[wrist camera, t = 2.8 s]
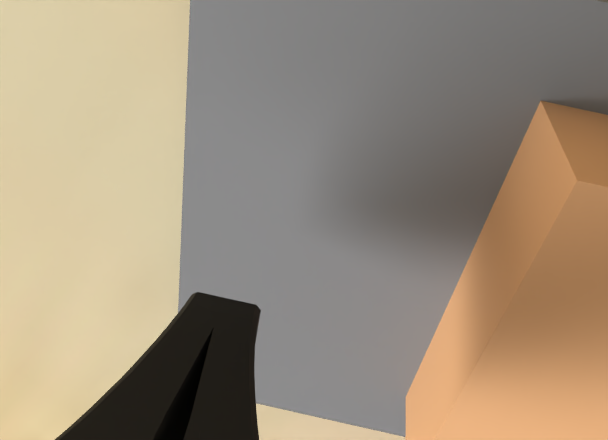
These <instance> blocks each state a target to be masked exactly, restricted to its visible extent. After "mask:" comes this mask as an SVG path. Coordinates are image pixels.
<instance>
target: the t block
mask: <svg viewBox="0 0 608 440" xmlns="http://www.w3.org/2000/svg"><path fill="white" fill-rule="evenodd" d="M406 440H608V115H606V114H601V113H596V112H592V111H587V110H582V109H578V108H573V107H568V106H564V105H559V104H554V103H550V102H545V101H540V103H539V106H538V108H537V110H536V112H535V114H534V116H533V119H532V121H531V123H530V125H529V127H528V130H527V132H526V134H525V136H524V138H523V141H522V143H521V145H520V147H519V149H518V152H517V154H516V156H515V158H514V160H513V163H512V165H511V167H510V169H509V171H508V174H507V176H506V178H505V180H504V182H503V185H502V187H501V189H500V191H499V193H498V195H497V198H496V200H495V202H494V204H493V206H492V209H491V211H490V213H489V215H488V217H487V220H486V222H485V224H484V226H483V228H482V231H481V233H480V235H479V237H478V239H477V242H476V244H475V246H474V248H473V250H472V253H471V255H470V257H469V259H468V261H467V264H466V266H465V268H464V270H463V272H462V275H461V277H460V279H459V281H458V283H457V285H456V288H455V290H454V292H453V294H452V296H451V299H450V301H449V303H448V305H447V307H446V310H445V312H444V314H443V316H442V318H441V321H440V323H439V325H438V327H437V329H436V332H435V334H434V336H433V338H432V340H431V343H430V345H429V347H428V349H427V351H426V354H425V356H424V358H423V360H422V362H421V364H420V367H419V369H418V371H417V373H416V375H415V378H414V380H413V382H412V384H411V386H410V389H409V391H408V393H407V395H406Z"/></svg>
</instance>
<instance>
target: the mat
mask: <svg viewBox="0 0 608 440" xmlns="http://www.w3.org/2000/svg"><path fill="white" fill-rule="evenodd" d="M540 101H545V102H550V103H554V104H559V105H564V106H568V107H573V108H578V109H582V110H587V111H592V112H596V113H601V114H606V115H608V0H190V20H189V46H188V72H187V98H186V124H185V150H184V176H183V202H182V228H181V254H180V280H179V306H178V313H179V311H180V310H181V309H182V307H183V306H184V305H185V303H186V302H187V300H188V299H189V298H190V296H191V295H192V294H194V293H196V292H201V293H205V294H210V295H214V296H219V297H224V298H228V299H233V300H237V301H242V302H246V303H251V304H255V305H257V306H258V307H259V308H260V310H261V313H260V319H259V325H258V331H257V337H256V343H255V361H254V377H255V399H256V403H257V404H262V405H266V406H271V407H275V408H280V409H284V410H288V411H293V412H297V413H302V414H306V415H311V416H315V417H319V418H324V419H328V420H333V421H337V422H342V423H346V424H350V425H355V426H359V427H364V428H368V429H373V430H377V431H381V432H386V433H390V434H395V435H399V436H404V437H406V395H407V393H408V391H409V389H410V386H411V384H412V382H413V380H414V378H415V375H416V373H417V371H418V369H419V367H420V364H421V362H422V360H423V358H424V356H425V354H426V351H427V349H428V347H429V345H430V343H431V340H432V338H433V336H434V334H435V332H436V329H437V327H438V325H439V323H440V321H441V318H442V316H443V314H444V312H445V310H446V307H447V305H448V303H449V301H450V299H451V296H452V294H453V292H454V290H455V288H456V285H457V283H458V281H459V279H460V277H461V275H462V272H463V270H464V268H465V266H466V264H467V261H468V259H469V257H470V255H471V253H472V250H473V248H474V246H475V244H476V242H477V239H478V237H479V235H480V233H481V231H482V228H483V226H484V224H485V222H486V220H487V217H488V215H489V213H490V211H491V209H492V206H493V204H494V202H495V200H496V198H497V195H498V193H499V191H500V189H501V187H502V185H503V182H504V180H505V178H506V176H507V174H508V171H509V169H510V167H511V165H512V163H513V160H514V158H515V156H516V154H517V152H518V149H519V147H520V145H521V143H522V141H523V138H524V136H525V134H526V132H527V130H528V127H529V125H530V123H531V121H532V119H533V116H534V114H535V112H536V110H537V108H538V106H539V103H540Z"/></svg>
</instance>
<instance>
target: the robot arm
mask: <svg viewBox="0 0 608 440" xmlns="http://www.w3.org/2000/svg"><path fill="white" fill-rule="evenodd" d="M260 313H261V310H260V308H259V307H258V306H257V305H255V304H251V303H246V302H242V301H237V300H233V299H228V298H224V297H219V296H214V295H210V294H205V293H201V292H196V293H194V294H192V295H191V296H190V298H189V299H188V300H187V302H186V303H185V305H184V306H183V307H182V309H181V310H180V311H179V313H178V314H177V315H176V317H175V318H174V319H173V320H172V322H171V323H170V324H169V325H168V327H167V328H166V329H165V330H164V331H163V332H162V334H161V335H160V336H159V337H158V338H157V340H156V341H155V342H154V343H153V344H152V345H151V346H150V347H149V349H148V350H147V351H146V352H145V353H144V354H143V355H142V356H141V357H140V358H139V360H138V361H137V362H136V363H135V364H134V365H133V366H132V367H131V368H130V369H129V370H128V371H127V372H126V374H125V375H124V376H123V377H122V378H121V379H120V380H119V381H118V382H117V383H116V384H115V385H114V386H112V387H111V388H110V389H109V390H108V391H107V392H106V393H105V394H104V395H103V396H102V397H101V398H100V399H99V400H98V401H97V402H96V403H95V404H94V405H93V406H92V407H91V408H90V409H89V410H88V411H87V412H86V413H85V414H83V415H82V416H81V417H80V418H79V419H78V420H77V421H76V422H75V423H74V424H72V425H71V426H70V427H69V428H68V429H67V430H66V431H64V432H63V433H62V434H61V435H60V436H59V437H57V438H56V439H55V440H259V435H258V426H257V415H256V399H255V377H254V361H255V343H256V337H257V331H258V325H259V319H260Z"/></svg>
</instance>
